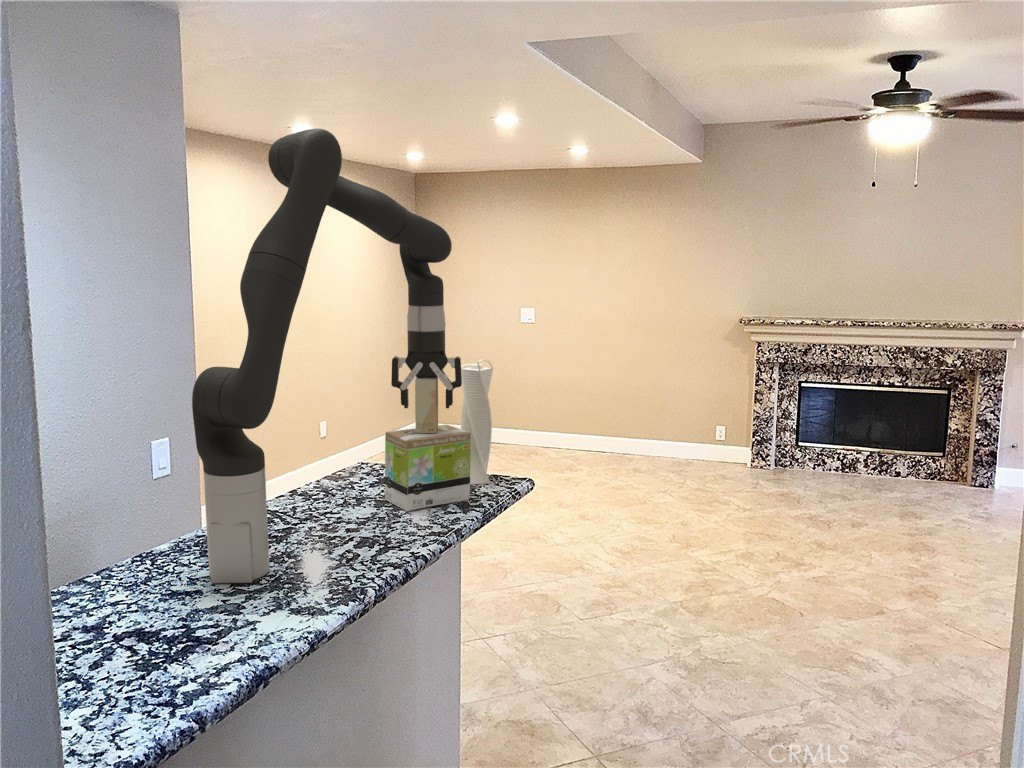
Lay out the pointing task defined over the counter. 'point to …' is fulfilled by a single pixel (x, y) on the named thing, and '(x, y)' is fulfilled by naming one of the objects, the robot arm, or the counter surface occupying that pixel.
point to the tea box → (427, 467)
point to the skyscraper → (477, 417)
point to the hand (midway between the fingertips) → (427, 407)
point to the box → (426, 405)
